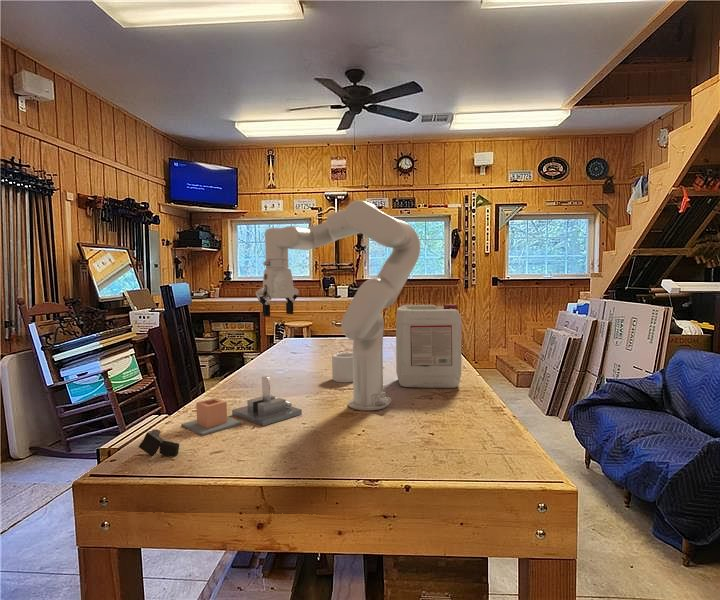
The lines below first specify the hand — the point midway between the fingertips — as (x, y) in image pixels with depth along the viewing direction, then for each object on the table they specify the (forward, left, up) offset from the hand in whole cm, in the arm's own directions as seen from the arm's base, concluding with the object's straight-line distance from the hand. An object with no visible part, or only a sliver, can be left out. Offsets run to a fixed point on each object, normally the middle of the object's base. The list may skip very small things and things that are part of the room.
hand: (278, 315), depth 158 cm
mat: (-9, +31, -28) cm, 43 cm away
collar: (-9, +31, -28) cm, 42 cm away
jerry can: (-28, -48, -29) cm, 62 cm away
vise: (-13, +15, -28) cm, 35 cm away
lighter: (-19, +50, -29) cm, 61 cm away
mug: (+1, -33, -29) cm, 44 cm away
